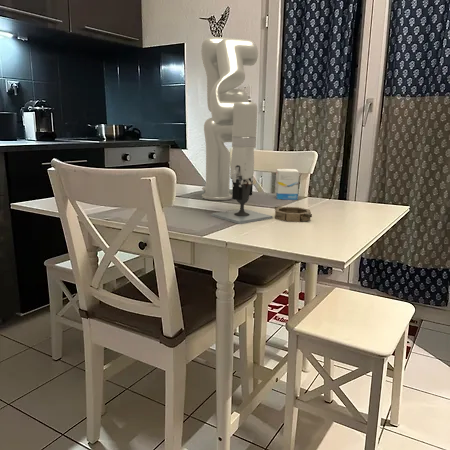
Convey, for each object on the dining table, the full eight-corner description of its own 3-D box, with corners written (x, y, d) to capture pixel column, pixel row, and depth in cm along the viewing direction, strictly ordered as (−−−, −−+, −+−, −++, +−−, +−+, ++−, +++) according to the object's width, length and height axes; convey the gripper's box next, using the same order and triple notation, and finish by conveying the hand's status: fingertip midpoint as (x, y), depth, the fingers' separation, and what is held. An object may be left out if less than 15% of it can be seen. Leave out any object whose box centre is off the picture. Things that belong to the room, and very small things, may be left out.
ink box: (297, 200, 174) (299, 170, 171) (276, 199, 174) (278, 170, 171) (294, 196, 182) (296, 168, 179) (274, 196, 182) (276, 168, 179)
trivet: (211, 215, 142) (211, 213, 142) (244, 211, 150) (244, 208, 150) (239, 224, 131) (239, 221, 131) (272, 218, 140) (272, 216, 139)
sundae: (235, 217, 136) (237, 169, 133) (228, 213, 143) (229, 167, 139) (255, 216, 138) (256, 169, 135) (247, 212, 145) (248, 167, 141)
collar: (264, 215, 143) (264, 208, 143) (287, 212, 150) (288, 204, 149) (297, 224, 132) (297, 216, 131) (321, 220, 139) (322, 212, 138)
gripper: (242, 141, 144) (240, 192, 148) (222, 143, 129) (221, 200, 133) (263, 142, 142) (261, 194, 146) (246, 144, 126) (244, 202, 130)
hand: (242, 197), depth 139 cm, fingers open, 9 cm apart
